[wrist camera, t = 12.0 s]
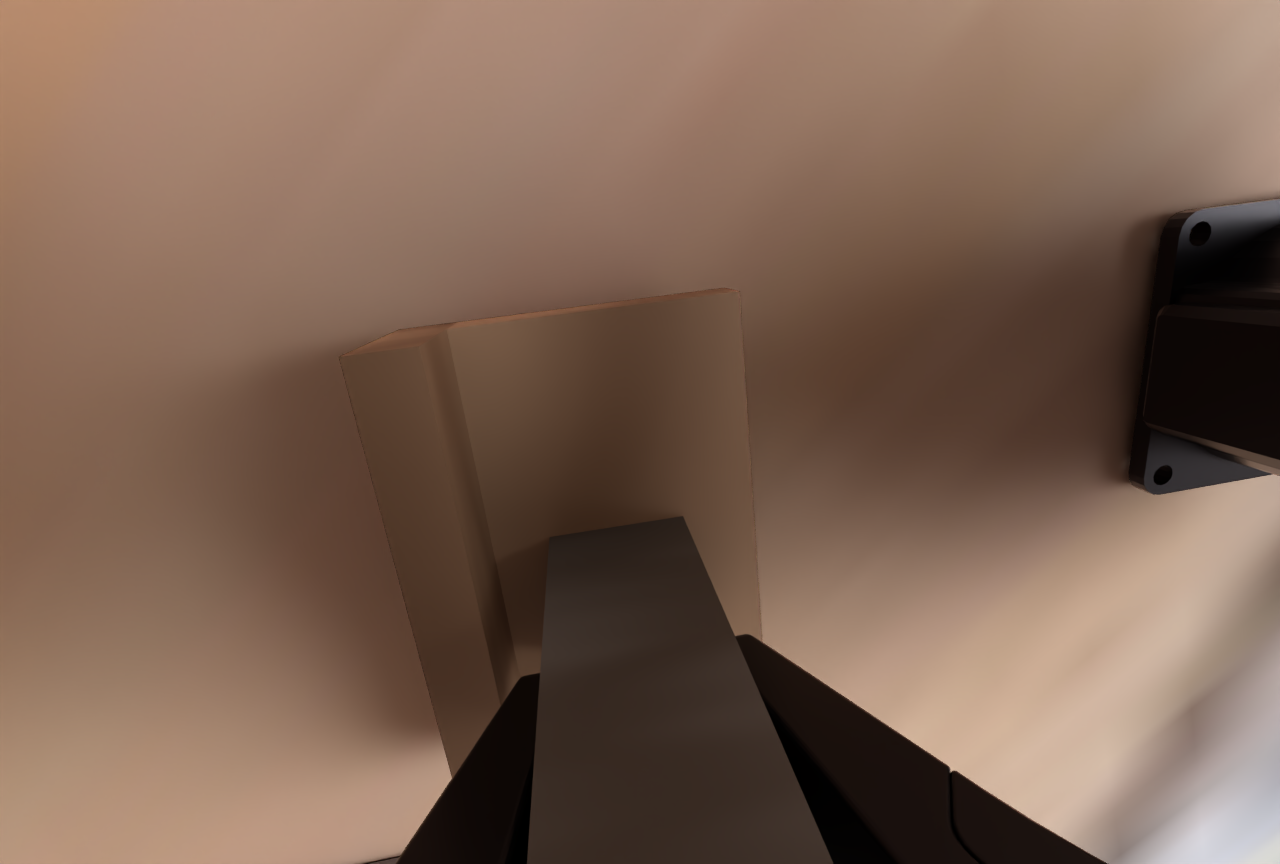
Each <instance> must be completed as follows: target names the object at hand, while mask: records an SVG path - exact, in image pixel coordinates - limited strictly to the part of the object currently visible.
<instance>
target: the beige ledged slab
mask: <svg viewBox="0 0 1280 864" xmlns="http://www.w3.org/2000/svg"><path fill="white" fill-rule="evenodd" d="M339 360H340V364H341V367H342V371H343V375H344V378H345V382H346V386H347V390H348V393H349V397H350V401H351V404H352V408H353V412H354V416H355V419H356V423H357V427H358V430H359V434H360V438H361V442H362V445H363V449H364V453H365V456H366V460H367V464H368V468H369V471H370V475H371V479H372V482H373V486H374V490H375V493H376V497H377V501H378V505H379V508H380V512H381V516H382V519H383V523H384V527H385V531H386V534H387V538H388V542H389V545H390V549H391V553H392V557H393V560H394V564H395V568H396V571H397V575H398V579H399V583H400V586H401V590H402V594H403V597H404V601H405V605H406V609H407V612H408V616H409V620H410V623H411V627H412V631H413V635H414V638H415V642H416V646H417V649H418V653H419V657H420V661H421V664H422V668H423V672H424V675H425V679H426V683H427V686H428V690H429V694H430V698H431V701H432V705H433V709H434V712H435V716H436V720H437V724H438V727H439V731H440V735H441V738H442V742H443V746H444V750H445V753H446V757H447V761H448V764H449V768H450V772H451V776H452V778H453V776H454V775H455V773H456V772H457V770H458V769H459V768H460V766H461V765H462V763H463V762H464V760H465V759H466V757H467V756H468V754H469V753H470V751H471V750H472V748H473V747H474V745H475V744H476V742H477V741H478V739H479V738H480V736H481V735H482V733H483V732H484V730H485V729H486V727H487V726H488V724H489V723H490V721H491V720H492V718H493V717H494V715H495V714H496V712H497V711H498V709H499V708H500V706H501V705H502V703H503V702H504V700H505V699H506V697H507V696H508V694H509V693H510V691H511V690H512V688H513V687H514V685H515V684H516V682H517V681H518V680H519V679H520V678H521V677H522V676H525V675H531V674H536V673H540V681H539V696H538V710H537V725H536V740H535V754H534V769H533V783H532V798H531V812H530V827H529V841H528V856H527V864H833V861H832V859H831V857H830V855H829V852H828V850H827V848H826V845H825V843H824V841H823V838H822V836H821V834H820V831H819V829H818V827H817V824H816V822H815V820H814V818H813V815H812V813H811V811H810V808H809V806H808V804H807V801H806V799H805V797H804V794H803V792H802V790H801V788H800V785H799V783H798V781H797V778H796V776H795V774H794V771H793V769H792V767H791V764H790V762H789V760H788V757H787V755H786V753H785V751H784V748H783V746H782V744H781V741H780V739H779V737H778V734H777V732H776V730H775V727H774V725H773V723H772V721H771V718H770V716H769V714H768V711H767V709H766V707H765V704H764V702H763V700H762V697H761V695H760V693H759V690H758V688H757V686H756V684H755V681H754V679H753V677H752V674H751V672H750V670H749V667H748V665H747V663H746V660H745V658H744V656H743V654H742V651H741V649H740V647H739V644H738V642H737V640H736V637H735V636H737V635H743V634H750V635H752V636H754V637H755V638H757V639H758V640H760V641H761V642H762V629H761V613H760V598H759V582H758V567H757V551H756V536H755V520H754V505H753V489H752V474H751V458H750V442H749V427H748V411H747V396H746V380H745V365H744V349H743V334H742V318H741V303H740V291H736V290H732V289H727V288H719V289H711V290H704V291H696V292H688V293H680V294H673V295H665V296H657V297H649V298H641V299H634V300H626V301H618V302H610V303H603V304H595V305H587V306H579V307H571V308H564V309H556V310H548V311H540V312H532V313H525V314H517V315H509V316H501V317H494V318H486V319H478V320H470V321H462V322H455V323H447V324H439V325H431V326H424V327H416V328H408V329H400V330H397V331H395V332H393V333H390V334H388V335H386V336H384V337H382V338H379V339H377V340H375V341H373V342H370V343H368V344H366V345H364V346H362V347H359V348H357V349H355V350H353V351H351V352H348V353H346V354H344V355H342V356H340V357H339Z"/></svg>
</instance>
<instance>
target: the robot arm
mask: <svg viewBox="0 0 1280 864" xmlns="http://www.w3.org/2000/svg"><path fill="white" fill-rule="evenodd" d="M1191 229H1192V235H1191V237H1189V235H1190V232H1191ZM1271 474H1274V475H1278V476H1280V198H1277V199H1269V200H1261V201H1253V202H1245V203H1238V204H1230V205H1222V206H1214V207H1206V208H1199V209H1191V210H1184V211H1181V212H1179V213H1176V214H1175V215H1174V216H1173V217H1171V218H1170V219H1169V220H1168V222H1167V223H1166V225H1165V227H1164V228H1163V232H1162V235H1161V239H1160V247H1159V254H1158V261H1157V269H1156V276H1155V283H1154V291H1153V298H1152V306H1151V313H1150V320H1149V328H1148V335H1147V342H1146V350H1145V357H1144V364H1143V372H1142V379H1141V386H1140V394H1139V401H1138V408H1137V416H1136V423H1135V430H1134V438H1133V445H1132V453H1131V460H1130V467H1129V480H1130V482H1131V484H1132V485H1133V486H1135V487H1136V488H1138V489H1141V490H1144V491H1146V492H1149V493H1151V494H1166V493H1171V492H1177V491H1182V490H1188V489H1193V488H1199V487H1205V486H1210V485H1216V484H1221V483H1227V482H1232V481H1238V480H1244V479H1249V478H1255V477H1260V476H1266V475H1271ZM735 637H736V640H737V642H738V644H739V647H740V649H741V651H742V654H743V656H744V658H745V660H746V663H747V665H748V667H749V670H750V672H751V674H752V677H753V679H754V681H755V684H756V686H757V688H758V690H759V693H760V695H761V697H762V700H763V702H764V704H765V707H766V709H767V711H768V714H769V716H770V718H771V721H772V723H773V725H774V727H775V730H776V732H777V734H778V737H779V739H780V741H781V744H782V746H783V748H784V751H785V753H786V755H787V757H788V760H789V762H790V764H791V767H792V769H793V771H794V774H795V776H796V778H797V781H798V783H799V785H800V788H801V790H802V792H803V794H804V797H805V799H806V801H807V804H808V806H809V808H810V811H811V813H812V815H813V818H814V820H815V822H816V824H817V827H818V829H819V831H820V834H821V836H822V838H823V841H824V843H825V845H826V848H827V850H828V852H829V855H830V857H831V859H832V861H833V864H1107V863H1106V862H1104V861H1102V860H1100V859H1099V858H1097V857H1095V856H1093V855H1091V854H1090V853H1088V852H1086V851H1084V850H1083V849H1081V848H1079V847H1078V846H1076V845H1074V844H1072V843H1071V842H1069V841H1067V840H1066V839H1064V838H1062V837H1060V836H1059V835H1057V834H1055V833H1054V832H1052V831H1050V830H1048V829H1047V828H1045V827H1043V826H1042V825H1040V824H1038V823H1036V822H1035V821H1033V820H1031V819H1030V818H1028V817H1027V816H1025V815H1024V814H1022V813H1020V812H1019V811H1017V810H1016V809H1014V808H1012V807H1011V806H1009V805H1008V804H1006V803H1005V802H1003V801H1001V800H1000V799H998V798H997V797H995V796H994V795H992V794H990V793H989V792H987V791H986V790H984V789H983V788H981V787H980V786H978V785H977V784H975V783H974V782H972V781H971V780H969V779H968V778H966V777H965V776H963V775H962V774H960V773H959V772H957V771H952V772H951V771H950V767H949V766H948V765H946V764H945V763H943V762H942V761H940V760H939V759H937V758H936V757H934V756H933V755H931V754H930V753H928V752H927V751H925V750H924V749H922V748H921V747H919V746H918V745H916V744H915V743H913V742H912V741H910V740H909V739H907V738H906V737H904V736H903V735H901V734H900V733H898V732H897V731H895V730H894V729H892V728H891V727H889V726H888V725H886V724H885V723H883V722H882V721H880V720H879V719H877V718H876V717H874V716H873V715H871V714H870V713H868V712H867V711H865V710H864V709H862V708H861V707H859V706H858V705H856V704H855V703H853V702H852V701H850V700H849V699H847V698H845V697H844V696H842V695H841V694H839V693H838V692H836V691H835V690H833V689H832V688H830V687H829V686H827V685H826V684H824V683H823V682H821V681H820V680H818V679H817V678H815V677H814V676H812V675H811V674H809V673H808V672H806V671H805V670H803V669H802V668H800V667H799V666H797V665H796V664H794V663H793V662H791V661H790V660H788V659H787V658H785V657H784V656H782V655H781V654H779V653H778V652H776V651H775V650H773V649H772V648H770V647H769V646H767V645H766V644H764V643H763V642H761V641H760V640H758V639H757V638H755V637H754V636H752V635H750V634H743V635H737V636H735ZM539 681H540V673H536V674H531V675H525V676H522V677H521V678H520V679H519V680H518V681H517V682H516V684H515V685H514V687H513V688H512V690H511V691H510V693H509V694H508V696H507V697H506V699H505V700H504V702H503V703H502V705H501V706H500V708H499V709H498V711H497V712H496V714H495V715H494V717H493V718H492V720H491V721H490V723H489V724H488V726H487V727H486V729H485V730H484V732H483V733H482V735H481V736H480V738H479V739H478V741H477V742H476V744H475V745H474V747H473V748H472V750H471V751H470V753H469V754H468V756H467V757H466V759H465V760H464V762H463V763H462V765H461V766H460V768H459V769H458V770H457V772H456V773H455V775H454V776H453V778H452V779H451V781H450V782H449V784H448V785H447V787H446V788H445V790H444V791H443V793H442V794H441V796H440V797H439V799H438V800H437V802H436V803H435V805H434V806H433V808H432V809H431V811H430V812H429V814H428V815H427V817H426V818H425V820H424V821H423V823H422V824H421V826H420V827H419V829H418V830H417V832H416V833H415V835H414V836H413V838H412V839H411V841H410V842H409V844H408V845H407V847H406V848H405V850H404V851H403V853H402V854H401V856H400V857H399V859H398V860H397V862H396V863H395V864H527V856H528V841H529V827H530V812H531V798H532V783H533V769H534V754H535V740H536V725H537V710H538V696H539Z"/></svg>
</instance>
